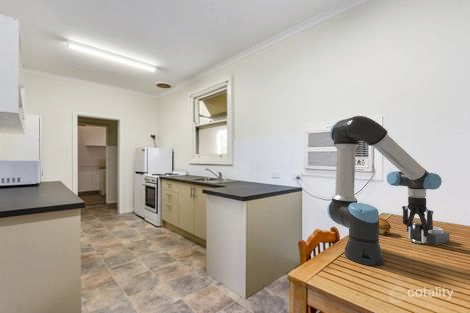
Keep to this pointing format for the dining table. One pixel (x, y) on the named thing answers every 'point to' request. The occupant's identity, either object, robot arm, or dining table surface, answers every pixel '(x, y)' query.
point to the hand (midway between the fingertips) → (417, 240)
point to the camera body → (437, 236)
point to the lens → (416, 233)
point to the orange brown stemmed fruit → (384, 226)
